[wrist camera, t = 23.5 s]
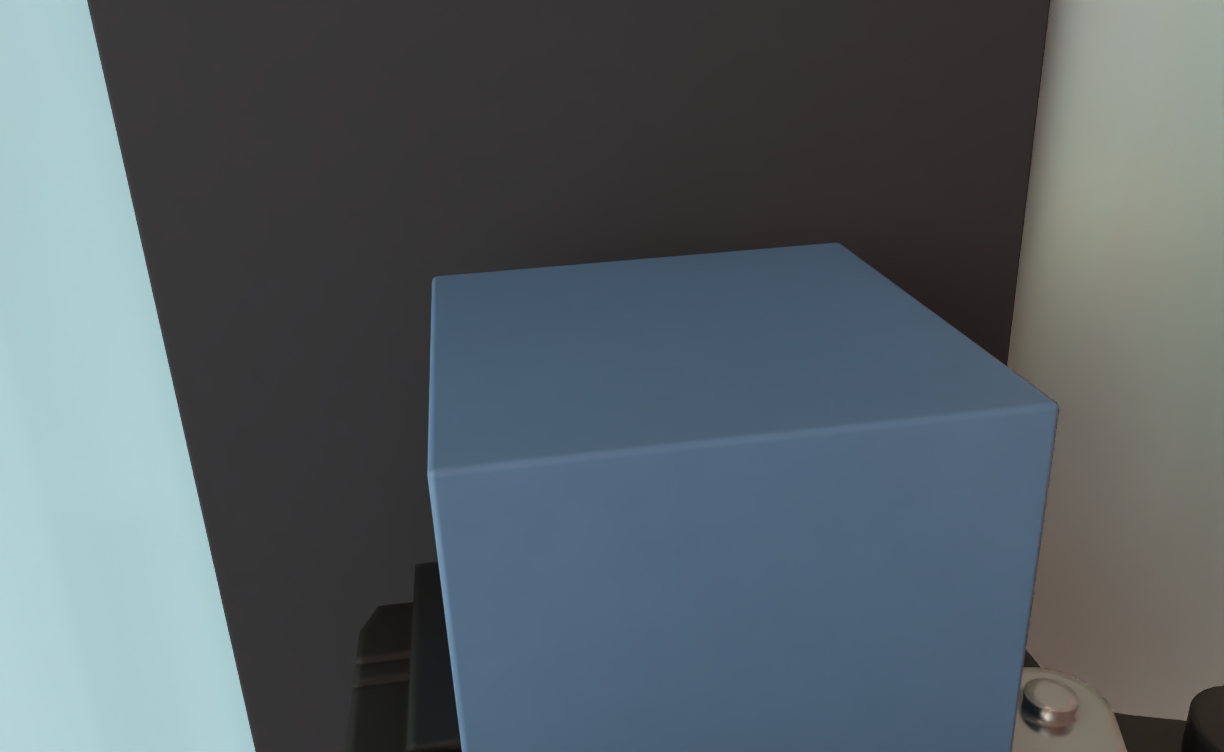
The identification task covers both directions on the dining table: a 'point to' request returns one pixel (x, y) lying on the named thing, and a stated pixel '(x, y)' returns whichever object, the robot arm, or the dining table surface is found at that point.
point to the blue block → (729, 509)
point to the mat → (504, 229)
